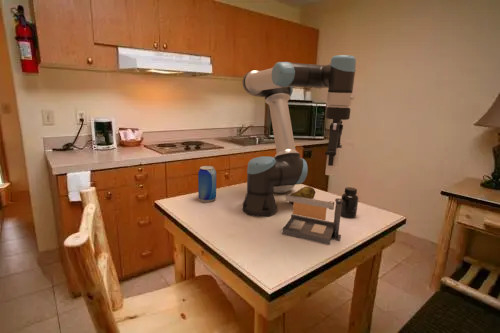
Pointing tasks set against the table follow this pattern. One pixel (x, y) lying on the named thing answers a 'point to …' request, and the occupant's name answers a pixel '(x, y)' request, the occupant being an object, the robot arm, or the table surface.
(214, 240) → the table surface
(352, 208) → the supplement bottle
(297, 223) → the metal plate with cutouts
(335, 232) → the post
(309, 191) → the potato
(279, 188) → the cereal bowl
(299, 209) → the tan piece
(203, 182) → the beer can
